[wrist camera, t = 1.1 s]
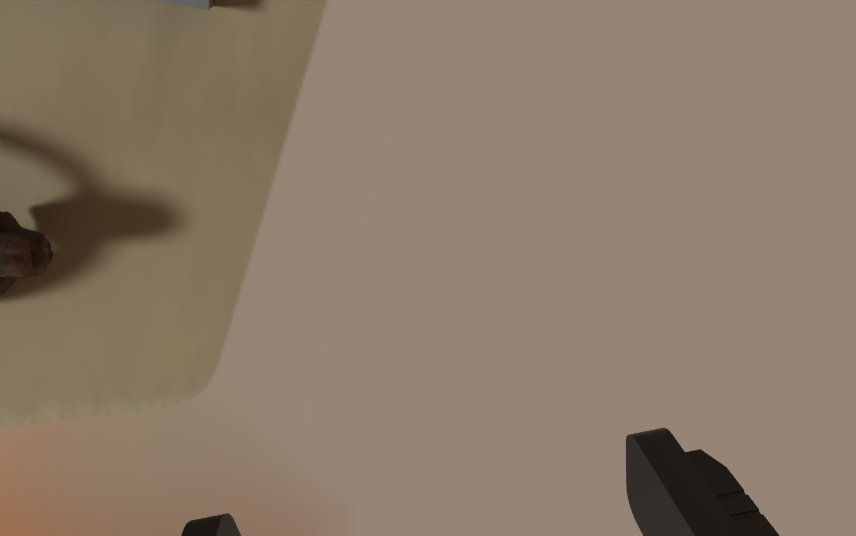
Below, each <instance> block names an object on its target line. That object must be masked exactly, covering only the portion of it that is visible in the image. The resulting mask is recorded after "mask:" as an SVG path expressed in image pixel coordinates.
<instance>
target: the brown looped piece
mask: <svg viewBox="0 0 856 536" xmlns="http://www.w3.org/2000/svg"><path fill="white" fill-rule="evenodd" d="M52 258H53V253H52V251H51V244H50V242H49V240H48V239H47V238H46V237H45V235H44V234H42V233H39V232H36V231H32V230H28V229H25V228H23V227H21V226H20V225H19V224H18V222H17V220H16V219H15V218H14V217H13V216H12V215H11V214H10V213H9V212H0V295H2V294H3V293H4V292H5V291H6V290H7V289H8V288H9V287H10V286H11V285H12V284H13V283H14V281H15V280H16V277H32V276H36V275H39V274H41V273H42V272H44V271H45V269H46V268H47V265H48V264H49V262H50V261H51V259H52Z"/></svg>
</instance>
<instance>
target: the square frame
mask: <svg viewBox="0 0 856 536" xmlns="http://www.w3.org/2000/svg"><path fill="white" fill-rule="evenodd" d="M164 1H168V2H173V3H178V4H183V5H187V6H192V7H197V8H202V9H206V10H209V9H210V8H211V7H213V0H164Z"/></svg>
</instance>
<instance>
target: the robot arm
mask: <svg viewBox="0 0 856 536" xmlns="http://www.w3.org/2000/svg"><path fill="white" fill-rule="evenodd" d="M626 484H627V495H628V500H629V504H630V507H631V510H632V513H633V515H634V518H635V520H636V522H637V524H638V526H639V528H640V530H641V532H642V534H643V536H779V534H778V533H777V532H776V531H775V529H774V528H773V527H772V525H771V524H770V523H769V522H768V520H767V519H766V518H765V517H764V515H763V514H762V515H761V514H760V512H759V509H758V508H757V506H756V505H755V504H754V502H753V501H752V500H751V498H750V497H749V496H748V495H745V492H744V489H743V488H742V487H741V486H740V484H739V483H738V482H737V480H736V479H735V478H734V476H733V475H732V474H731V473H730V471H729V470H728V469H727V467H725V466H724V465H723V464H721V463H720V462H718V461H717V460H715V459H714V458H712V457H711V456H709V455H708V454H706V453H705V452H704V451H702V450H701V449H700V450H695V451H690V452H684V450H683V449H682V448H681V446H680V445H679V443H678V442H677V440H676V439H675V438H674V436H673V435H672V434H671V432H670V431H669V430H668V429H666V428H661V429H655V430H650V431H646V432H640V433H635V434H631V435H628V436H627V438H626ZM181 536H241V535H240V532H239V530H238V528H237V526H236V523H235V521H234V519H233V517H232V516H231V515H230V514H228V513H227V514H222V515H217V516H212V517H207V518H202V519H197V520H192V521H189V522H188V523H187V524H186V526H185V528H184V530H183V532H182V535H181Z"/></svg>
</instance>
